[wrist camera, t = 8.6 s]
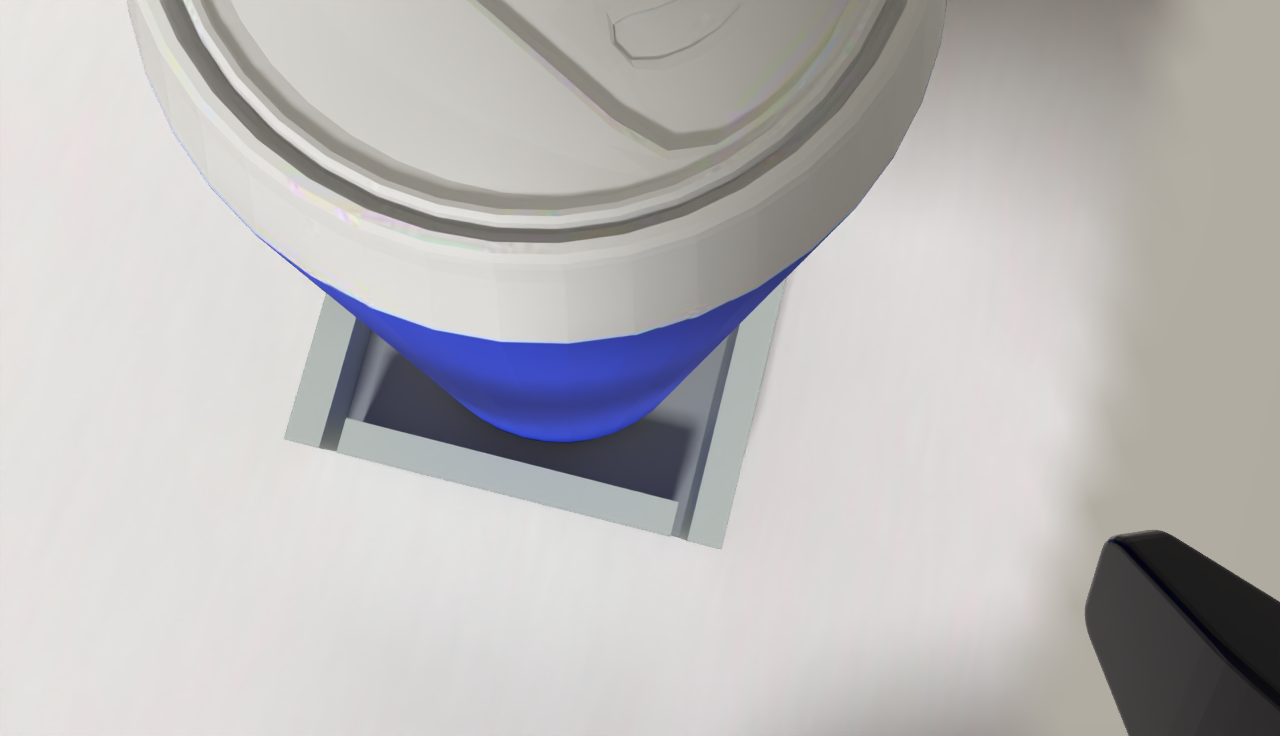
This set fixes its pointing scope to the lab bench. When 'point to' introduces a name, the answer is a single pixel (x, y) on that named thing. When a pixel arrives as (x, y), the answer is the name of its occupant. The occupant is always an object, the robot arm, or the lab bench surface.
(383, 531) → the lab bench surface
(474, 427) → the can holder
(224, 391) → the lab bench surface
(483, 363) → the beverage can
